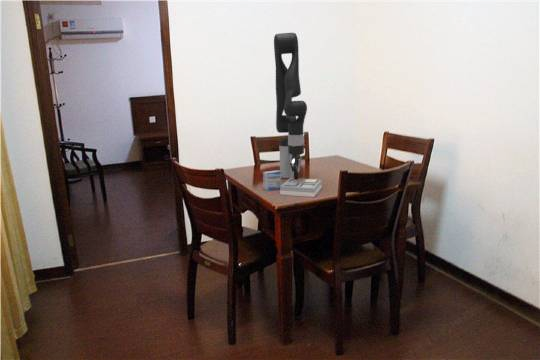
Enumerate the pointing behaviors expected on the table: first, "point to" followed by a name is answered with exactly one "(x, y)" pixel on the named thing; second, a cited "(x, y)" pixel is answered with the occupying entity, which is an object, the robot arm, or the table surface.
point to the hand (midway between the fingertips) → (296, 179)
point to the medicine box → (272, 180)
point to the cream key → (311, 181)
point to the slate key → (291, 184)
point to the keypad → (301, 188)
